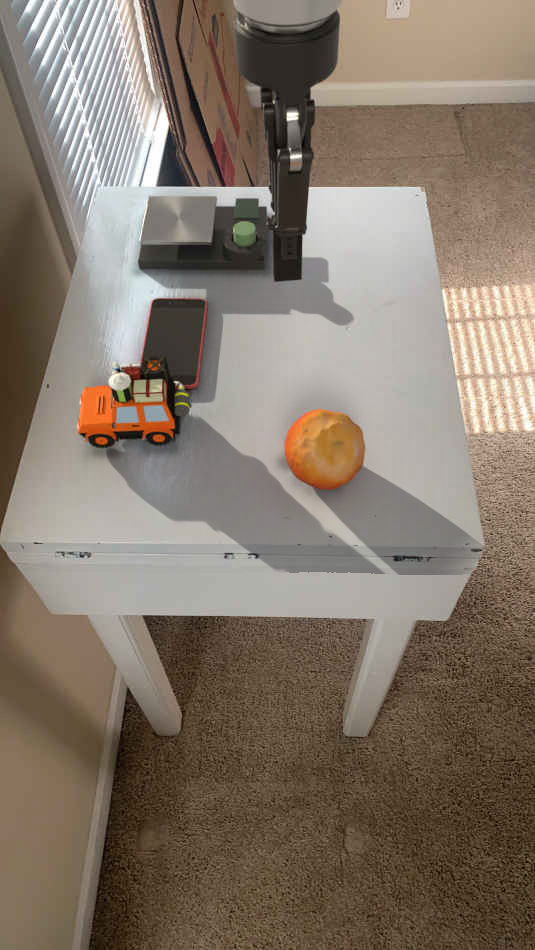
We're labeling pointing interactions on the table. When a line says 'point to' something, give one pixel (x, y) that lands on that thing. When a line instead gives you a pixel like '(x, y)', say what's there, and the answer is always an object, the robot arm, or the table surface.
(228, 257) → the scale
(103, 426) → the toy car
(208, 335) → the table surface
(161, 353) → the smartphone
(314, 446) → the fruit
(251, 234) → the tare button
